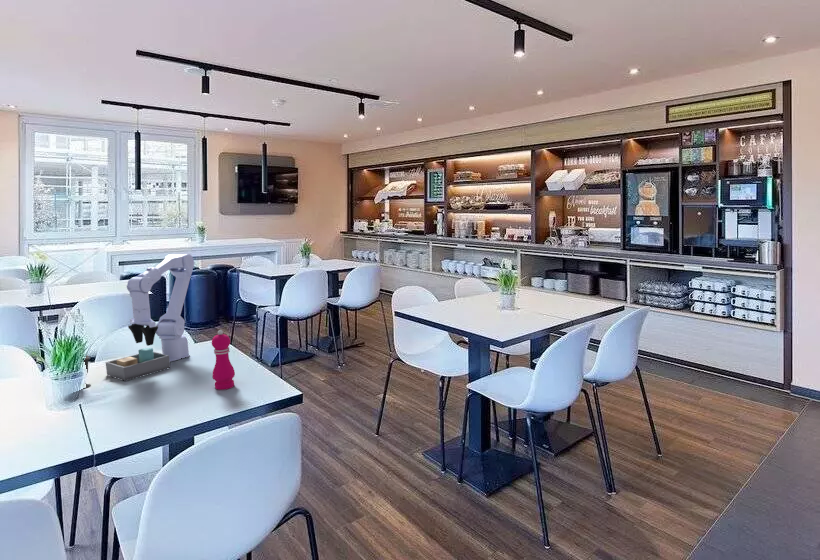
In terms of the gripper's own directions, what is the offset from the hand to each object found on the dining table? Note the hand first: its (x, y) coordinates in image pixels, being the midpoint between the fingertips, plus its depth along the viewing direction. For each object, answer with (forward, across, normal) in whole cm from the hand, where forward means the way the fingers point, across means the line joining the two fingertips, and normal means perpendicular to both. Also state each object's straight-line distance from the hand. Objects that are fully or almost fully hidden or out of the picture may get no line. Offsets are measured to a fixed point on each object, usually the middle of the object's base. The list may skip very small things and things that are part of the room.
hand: (144, 343), depth 195 cm
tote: (+10, -1, -2) cm, 11 cm away
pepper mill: (+11, +42, +4) cm, 44 cm away
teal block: (+9, 0, 0) cm, 9 cm away
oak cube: (+10, -1, -7) cm, 12 cm away
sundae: (+11, -2, -22) cm, 25 cm away
